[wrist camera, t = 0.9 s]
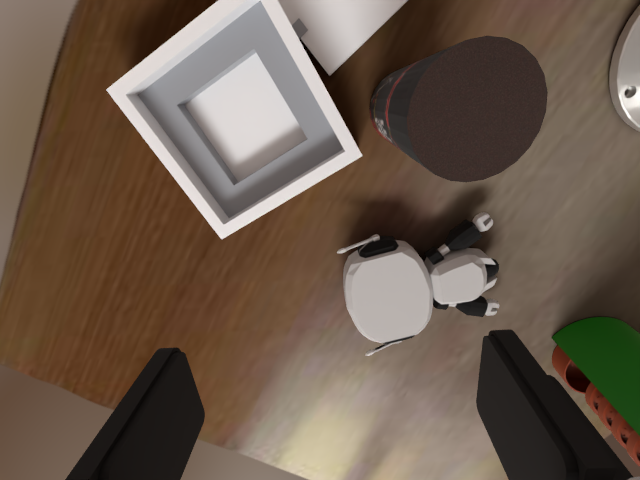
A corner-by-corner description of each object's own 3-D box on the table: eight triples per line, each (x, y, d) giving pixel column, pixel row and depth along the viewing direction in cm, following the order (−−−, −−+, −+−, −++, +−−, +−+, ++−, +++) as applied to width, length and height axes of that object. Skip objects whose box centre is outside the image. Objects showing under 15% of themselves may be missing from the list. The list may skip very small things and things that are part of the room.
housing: (269, -14, 25) (259, -33, 22) (358, 148, 30) (362, 155, 26) (135, 91, 28) (106, 89, 25) (233, 223, 33) (221, 239, 29)
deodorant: (355, 109, 28) (378, 118, 15) (407, 51, 27) (491, -1, 13) (401, 157, 30) (463, 207, 16) (454, 105, 28) (575, 110, 14)
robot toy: (477, 196, 32) (328, 236, 33) (503, 210, 28) (331, 255, 29) (487, 301, 37) (355, 334, 38) (511, 326, 32) (362, 362, 33)
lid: (342, -105, 23) (342, -113, 22) (409, -1, 25) (412, -5, 24) (246, 5, 26) (243, 1, 25) (315, 90, 28) (314, 90, 27)
